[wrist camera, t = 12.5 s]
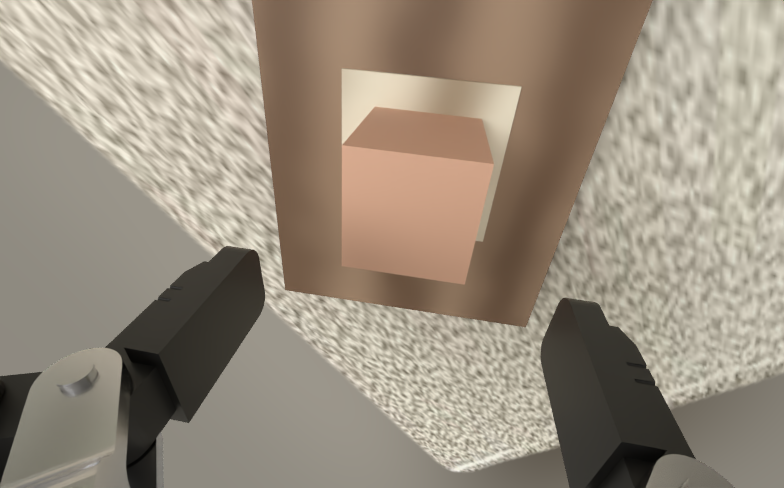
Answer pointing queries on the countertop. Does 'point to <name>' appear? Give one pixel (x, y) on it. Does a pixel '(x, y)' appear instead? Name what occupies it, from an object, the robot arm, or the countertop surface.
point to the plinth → (449, 97)
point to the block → (414, 193)
